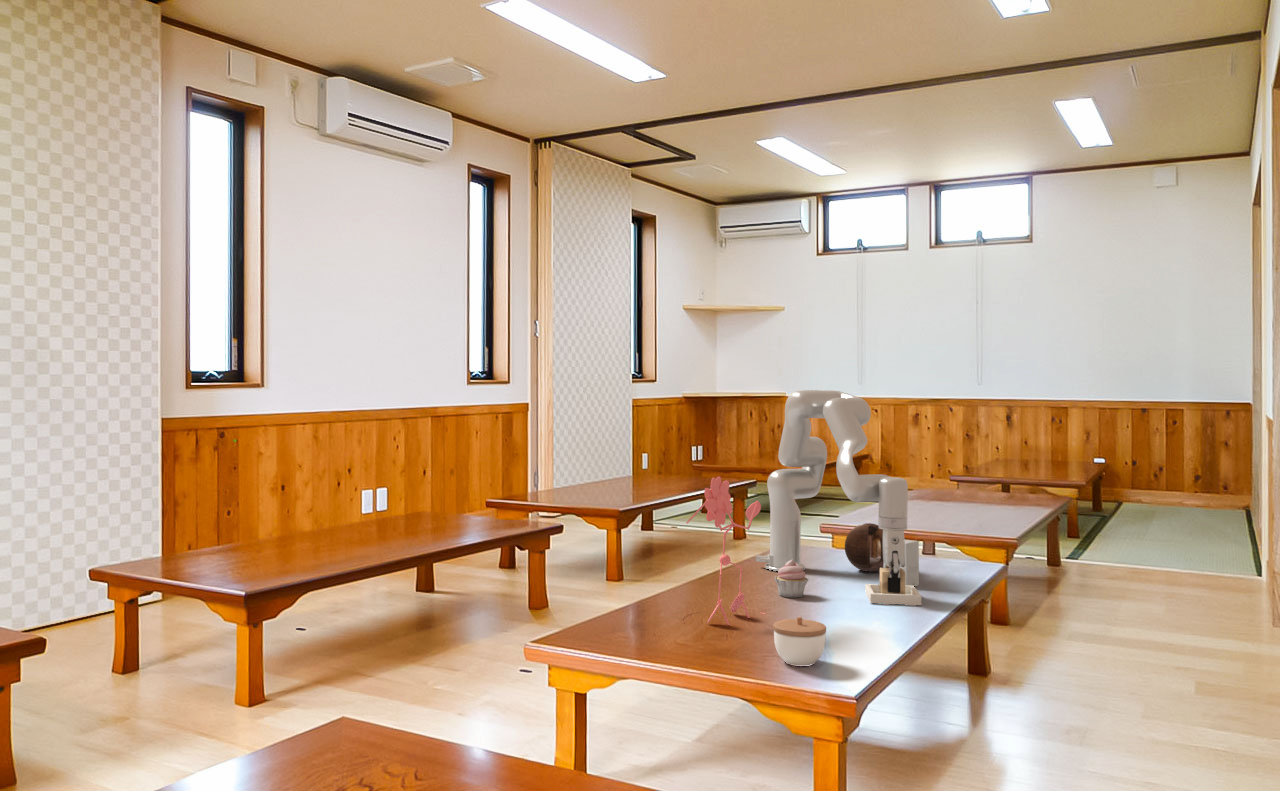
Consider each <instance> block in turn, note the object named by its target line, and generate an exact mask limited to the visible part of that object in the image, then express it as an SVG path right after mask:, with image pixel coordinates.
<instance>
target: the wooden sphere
mask: <svg viewBox="0 0 1280 791" xmlns="http://www.w3.org/2000/svg"><path fill="white" fill-rule="evenodd" d="M844 552H845V555H846V558H847V560H848V561H849V563H850V564H851V565H852V566H854V567H855V568H857V569H858V570H860V571H863V572H867V571H869V572H868V573H870V572H871V573H872V572H873V571H874V572H878V571H880V568H883V563H884V561H883V529H879V524H876V523H870V522H869V523H867V522H866V523H861V524H859V525H856V526H854V527H853V528H852V529H851V530H850V531H849V533H848V534H847V535H846V538H845V541H844Z"/></svg>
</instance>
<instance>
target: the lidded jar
mask: <svg viewBox="0 0 1280 791" xmlns="http://www.w3.org/2000/svg"><path fill="white" fill-rule="evenodd" d="M772 629H773V642H774V647H775V649H776V650H775V651H776V652H777V654H778V656H779V658H781V659H782V660H783V661H785V662H786V663H789V664H794V665H810V664H813V663H814V664H815V663H817V661H818V660H819V659H820V658H821V656H822V655H823V652H824V649H825V646H826V633H827V626H826V625H825V624H824V623H821V622H820V621H816V620H810V619H803V617H802V616H797V618H787V619H781V620H778V621H775V622H774V623H773V628H772ZM785 662H784V663H785Z"/></svg>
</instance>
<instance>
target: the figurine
mask: <svg viewBox="0 0 1280 791" xmlns="http://www.w3.org/2000/svg"><path fill="white" fill-rule="evenodd" d="M729 490H730V481H728V480H724V481H722V477H721V476H716V477H712V478H711V481H710V488H709V487H705V488H704V497H705V501H704V503H702V504H701V506H699V507H698V508H697V510H696V511H695V512H694V513H693V514H692V516H691V517H690V518H689V519H688V520H687V521H686V524H689V523H690V522H691V521H692V520H693V519H694V518H695V516H696V515H697V514H698V513H699V512H700V511H701V510H702V509H703V507H704V508H705V509H706V510H707V513H706V516H705V518H706V521H707V522H712V521H714V527H715V528H716V529H719V531H721V532H722V531H724V532H723V541H722V543H723V544H722V555H720V557H719V563H720V568H719V581H718V584H719V585H718V596H717V597H718V598H717V602H716V607H715V608H714V610H713V612H712V613H711V615H710V617H709V618H708V620H707V622H706V623H707V624H709V622H710V621H711V620H712V618H713V616H714V615H715V613H716V612H717V611H718V609H720V611H721V613H722V616H723V618H724V620H725V623H726V625H727V626H728V625H730V626H731V624H730V622H729V619H728V617H727V614H726V612H725V610H724V607H723V604H722V602H723V598H721V588H722V587H721V584H722V572H723V566H725V567H726V566H728V565H730V564H731V565H732V566H736V567H737V568H739V569H740V573H739V574H740V575H739V586H738V588H739V589H738V590H739V591H738V595H737V596H736V597H735V598H734V600H733V601H732V602H731V606H730V611H731V613H732V614H735V613H736V612H737V610H738V609H739V608H740V607H741V606H742V607H743V611H744V613H745V615H746V617H747V619H748V618H750V619H751V616H750V614H749V612H748V609H747V606H746V604H745V594H744V593H743V592H742V593H741V591H742V590H741V588H742V574H743V567H742V566H740V565H737V564H735V563H734V562H732V561H731V557H730V556H729V555H728V554H726V553H725V550H726V539H727V537H726V536H727V534H728V532H730V530H732V528H735V527H738V528H741V529H745V530H750V528H751V526H752V522H753V519H754V518H756V516H757V515H758V514H759V513H760V512H761V509H762V504H761V503H760V501H759V500H756V501H755V502H753V503H751V504H749V506H748V507H747V508H746V510H745V517H746V519H747V520H748V521H749V522H748V525H747V526H745V525H741V524H738V523H735V522H734V520H733V517H732V516H731V514H732V513H733V505H732V502H731V498H732V497H731V494H730V492H729ZM727 516H728V518H729V520H730V524H728V525H726V526H724V527H722V525H725V524H726V518H727ZM720 598H721V599H720ZM759 613H760V614H763V615H764V614H765V615H766V613H765V612H762V611H761V612H759Z"/></svg>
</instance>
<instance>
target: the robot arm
mask: <svg viewBox="0 0 1280 791" xmlns="http://www.w3.org/2000/svg"><path fill="white" fill-rule="evenodd" d="M871 414H872V411H871V407H870V405H869V403H868V402H867V401H866V400H865V399H863V398H862V397H860V396H856V395H852V394H849V393H846V392H843V391H840V390H819V389H804V390H803V389H802V390H797V391H794V392H792V393H790V395H788V397H787V399H786V400H785V406H784V424H783V429H782V433H781V438H780V441H779V442H780V443H779V447H778V452H777V453H778V454H777V455H778V456H777V457H778V461H779V463H780V464H781V465H783V467H789V468H781V469H776V470H774V471H773V472H771V473H769V475H768V478H767V482H766V484H767V486H766V487H767V491H768V496H769V497H768V498H769V510H770V511H769V512H770V513H769V514H770V516H769V518H770V522H769V523H770V524H769V526H770V527H769V531H770V532H769V534H770V537H769V552H768V554H765V555H761V554H760V555H757V554H756V555H755V562H758V563H765V564H764V567H765V569H766V570H767V569H769V570H768V571H771V570H773V571H772V572H776V571H779V569H780V568H782V567H784V566H785V564H786V563H787V562H788V561H790V560H793V561H794V562H796V563H797V564H799V565H800V566H801V567H802V570H804V571H805V570H806V565H805V564H802V563H801V537H802V536H801V535H802V533H801V525H802V523H801V522H802V521H801V517H802V516H801V510H800V508H799V505H798V504H797V502H796V500H797V499H810V498H813V497H814V498H815V496H817V495H818V494H819V492H820V489H821V487H822V482H823V478H824V473H825V470H826V464H827V460H828V450H827V444H826V443H825V442H824V440H823V439H821V438H820V437H817V436H811V432H812V422H811V420H810V419H825V422H826V424H827V426H828V428H829V430H830V433H831V434H832V437H833V439H834V440H835V443H836V446H837V448H838V451H839V452H838V455H837V458H836V464H835V465H836V466H835V467H836V469H835V470H836V477H837V480H838V482H839V484H840V486H841V489H842V490H843V493H844V494H845V495H846V497H847V498H848V499H849V501H852V502H854V503H869V502H870V503H872V502H873V503H874V502H877V503H878V525H879V529H883V561H884V563H885V568H889V577H888V592H889V593H900V565H901V566H902V567H905V540H906V539H905V531H907V530H908V499H909V498H908V496H909V495H908V490H909V487H908V486H909V485H908V481H907V479H906V478H903V477H897V476H895V477H894V476H889V475H887V474H877V473H876V474H875V473H874V474H859V473H858V471H857V469H856V467H855V464H854V461H853V460H854V459H853V456H854V455H856V454H858V453H859V452H861V451H862V450H864V449H865V447H866V446H867V444H868V437H867V435H866V433H865V431H864V430H863V427H862V426H865V425H867V424H868V423H869V422H870V419H871V416H872V415H871ZM899 563H900V565H899ZM891 569H892V570H891Z"/></svg>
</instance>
